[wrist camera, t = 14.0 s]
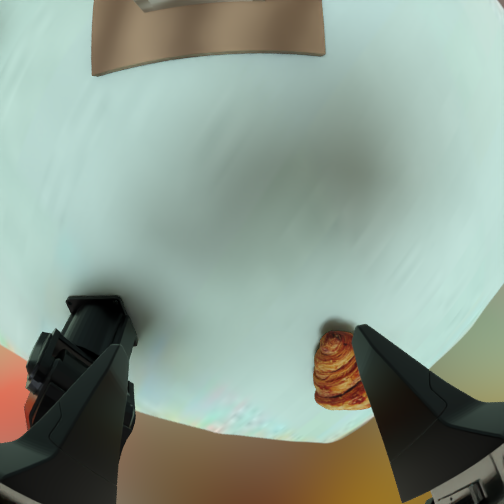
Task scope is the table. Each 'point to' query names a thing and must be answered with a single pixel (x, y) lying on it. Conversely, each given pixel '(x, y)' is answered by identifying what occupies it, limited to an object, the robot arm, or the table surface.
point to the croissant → (338, 374)
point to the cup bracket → (201, 30)
